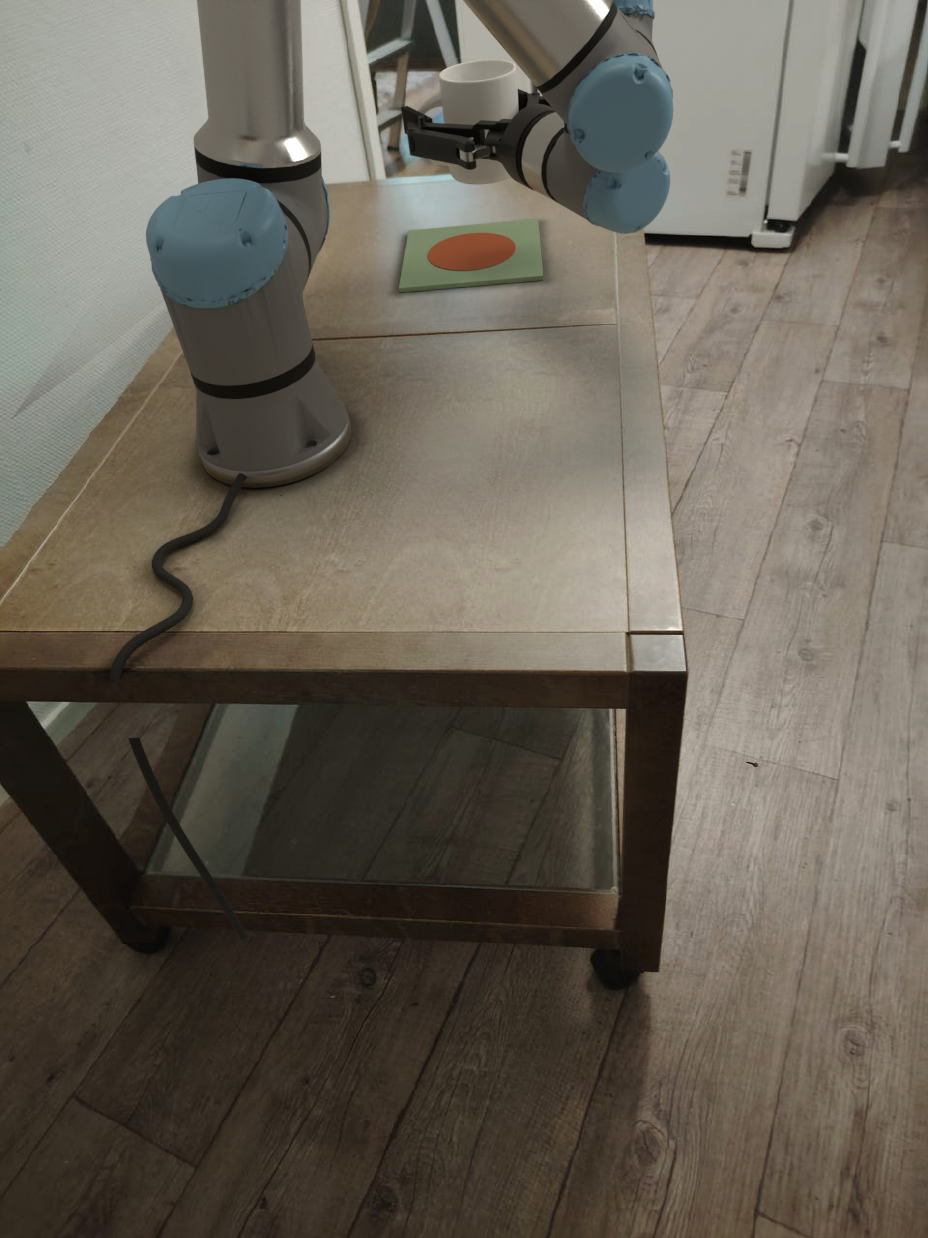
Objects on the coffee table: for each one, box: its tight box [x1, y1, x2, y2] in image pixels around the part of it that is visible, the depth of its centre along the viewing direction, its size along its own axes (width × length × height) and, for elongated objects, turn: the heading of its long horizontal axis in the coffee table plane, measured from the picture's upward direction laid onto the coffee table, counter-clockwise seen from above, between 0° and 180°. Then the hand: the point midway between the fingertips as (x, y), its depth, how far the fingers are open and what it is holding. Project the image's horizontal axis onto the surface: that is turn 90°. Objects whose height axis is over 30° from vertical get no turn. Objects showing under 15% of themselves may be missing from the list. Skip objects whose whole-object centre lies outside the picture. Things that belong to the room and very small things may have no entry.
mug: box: [416, 58, 519, 186], centre depth 102 cm, size 9×12×11 cm
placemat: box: [398, 218, 544, 293], centre depth 117 cm, size 18×18×1 cm
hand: (452, 106), depth 104 cm, fingers closed on mug, 11 cm apart
